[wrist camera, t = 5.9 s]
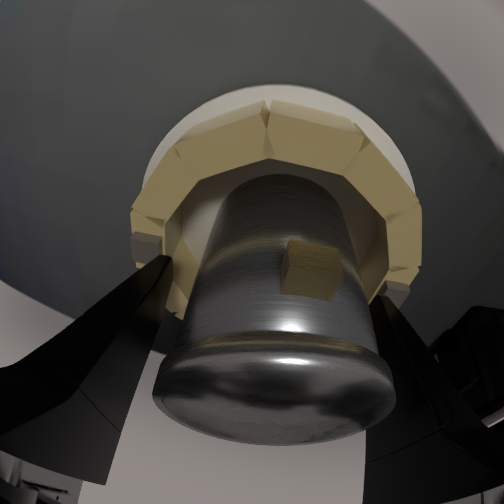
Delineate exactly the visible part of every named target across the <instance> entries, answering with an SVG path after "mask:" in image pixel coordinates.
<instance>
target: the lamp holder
mask: <svg viewBox="0 0 504 504" xmlns="http://www.w3.org/2000/svg"><path fill="white" fill-rule="evenodd" d="M269 174H290V175H296V176H300V177H303V178H306V179H309V180H311V181H313V182H315V183H317V184H319V185H320V186H322V187H323V188H324V189H326V190H327V191H328V192H329V193H330V194H331V195H332V196H333V197H334V198H335V200H336V201H337V203H338V204H339V206H340V208H341V210H342V212H343V215H344V219H345V222H346V225H347V228H348V231H349V235H350V238H351V241H352V245H353V248H354V252H355V255H356V259H357V262H358V266H359V270H360V273H361V277H362V281H363V285H364V289H365V293H366V297H367V301H368V305H369V304H370V303H371V301H372V299H373V298H374V296H375V295H377V294H380V295H386V296H388V297H389V298H390V299H391V301H392V302H393V303H394V304H395V306H396V307H397V308H398V309H399V307H400V306H401V305H402V303H403V302H404V301H405V299H406V298H407V296H408V295H409V294H410V289H409V285H410V284H411V282H412V281H413V279H414V278H415V276H416V275H417V273H418V272H419V269H418V267H417V266H421V251H422V209H421V206H420V204H419V203H418V202H419V200H418V198H417V197H416V195H415V189H414V184H413V181H412V178H411V174H410V171H409V169H408V166H407V164H406V162H405V160H404V158H403V156H402V154H401V153H400V151H399V150H398V148H397V147H396V145H395V144H394V143H393V141H392V140H391V138H390V137H389V136H388V135H387V134H386V133H385V132H384V131H383V130H382V129H381V128H380V127H379V126H378V125H377V124H376V123H375V122H374V121H373V120H372V119H371V118H370V117H369V116H367V115H366V114H365V113H364V112H362V111H361V110H359V109H358V108H357V107H355V106H354V105H352V104H351V103H349V102H347V101H346V100H344V99H342V98H340V97H338V96H336V95H334V94H332V93H329V92H326V91H323V90H320V89H317V88H314V87H309V86H304V85H298V84H292V83H264V84H256V85H249V86H245V87H241V88H238V89H234V90H231V91H228V92H226V93H223V94H221V95H219V96H217V97H215V98H212V99H210V100H209V101H207V102H206V103H204V104H203V105H201V106H200V107H198V108H197V109H195V110H194V111H192V112H191V113H190V114H188V115H187V116H186V117H185V118H183V119H182V120H181V121H180V122H179V123H178V124H177V125H176V126H175V127H174V128H173V129H172V130H171V131H169V133H168V134H167V135H166V137H165V138H164V139H163V140H162V142H161V143H160V144H159V146H158V147H157V149H156V151H155V153H154V155H153V156H152V158H151V160H150V162H149V165H148V168H147V170H146V173H145V176H144V180H143V186H142V191H141V192H140V194H139V196H138V197H137V199H136V201H135V202H134V204H133V206H132V208H133V210H132V212H131V213H130V216H131V226H132V236H131V237H130V244H131V252H132V259H133V261H135V262H136V267H138V268H140V269H141V268H142V267H143V266H145V265H146V264H147V263H149V262H150V261H151V260H153V259H154V258H155V257H157V256H158V255H160V254H163V255H168V256H171V257H172V258H173V281H172V285H171V289H170V292H169V296H168V299H167V303H166V308H167V309H168V310H169V312H170V313H171V312H176V313H175V316H176V317H177V318H179V319H181V320H183V317H184V314H185V310H186V307H187V304H188V301H189V297H190V294H191V291H192V288H193V285H194V281H195V278H196V275H197V272H198V269H199V266H200V263H201V260H202V257H203V254H204V251H205V248H206V244H207V242H208V239H209V236H210V233H211V230H212V227H213V224H214V221H215V218H216V215H217V212H218V210H219V207H220V206H221V204H222V202H223V201H224V199H225V198H226V197H227V195H228V194H230V193H231V192H232V191H233V190H234V189H235V188H236V187H238V186H239V185H241V184H242V183H244V182H246V181H248V180H251V179H253V178H256V177H259V176H264V175H269Z"/></svg>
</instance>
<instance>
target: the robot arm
mask: <svg viewBox="0 0 504 504" xmlns="http://www.w3.org/2000/svg"><path fill="white" fill-rule="evenodd" d="M172 281H173V258H172V257H171V256H168V255H163V254H160V255H158V256H157V257H155V258H154V259H153V260H151V261H150V262H149V263H147V264H146V265H145V266H143V267H142V268H141V269H139V270H138V271H137V272H135V273H134V274H133V275H131V276H130V277H129V278H128V279H126V280H125V281H124V282H122V283H121V284H120V285H119V286H117V287H116V288H115V289H113V290H112V291H111V292H110V293H108V294H107V295H106V296H105V297H103V298H102V299H101V300H100V301H98V302H97V303H96V304H95V305H93V306H92V307H91V308H90V309H88V310H87V311H86V312H85V313H84V314H83V316H82V315H81V316H80V317H79V318H77V319H76V320H75V321H74V322H73V323H71V324H70V325H69V326H67V327H66V328H65V329H64V330H62V331H61V332H60V333H58V334H57V335H56V336H54V337H53V338H51V339H50V340H49V341H47V342H46V343H44V344H43V345H41V346H40V347H38V348H37V349H36V350H34V351H33V352H31V353H30V354H28V355H27V356H26V357H24V358H23V359H21V360H20V361H18V362H16V363H15V364H12V365H10V366H7V367H2V368H0V504H77V503H78V499H79V495H80V491H81V486H82V483H83V480H84V481H88V482H92V483H96V484H100V485H105V484H106V481H107V478H108V474H109V471H110V468H111V464H112V461H113V458H114V454H115V451H116V448H117V445H118V442H119V438H120V435H121V433H120V432H121V431H122V429H123V426H124V423H125V420H126V417H127V414H128V411H129V408H130V405H131V402H132V399H133V396H134V393H135V391H136V388H137V385H138V382H139V380H140V377H141V374H142V371H143V369H144V366H145V363H146V361H147V358H148V355H149V353H150V350H151V348H152V345H153V342H154V340H155V337H156V335H157V332H158V330H159V327H160V324H161V321H162V318H163V314H164V310H165V307H166V303H167V299H168V296H169V292H170V289H171V285H172ZM369 310H370V314H371V318H372V323H373V327H374V332H375V337H376V342H377V347H378V352H379V356H380V357H382V358H383V359H384V360H385V361H386V363H387V364H388V365H389V367H390V369H391V372H392V377H393V383H394V389H395V395H396V404H395V406H394V408H393V410H392V411H391V413H390V414H389V415H388V416H387V417H386V418H384V419H383V420H382V421H380V422H379V423H377V424H375V425H374V426H372V427H370V428H368V429H366V455H365V463H366V464H365V476H364V492H363V503H362V504H504V420H502V421H500V422H498V423H497V424H495V425H493V426H491V427H489V428H488V427H487V426H488V425H490V424H492V423H493V422H495V421H497V420H499V419H501V418H502V417H504V310H502V309H495V308H489V307H483V306H477V307H475V308H474V309H472V310H471V311H470V313H469V314H468V315H467V316H466V317H465V318H464V319H463V321H462V322H461V323H460V324H459V325H458V326H457V327H456V328H455V329H454V330H453V331H452V332H451V333H450V335H449V336H448V337H447V338H446V339H445V340H444V341H443V342H442V343H441V344H440V345H439V346H438V347H437V348H436V349H435V350H434V351H433V352H432V353H431V352H430V350H429V349H428V348H427V346H426V345H425V343H424V342H423V341H422V339H421V338H420V337H419V335H418V334H417V333H416V331H415V330H414V329H413V327H412V326H411V325H410V324H409V322H408V321H407V320H406V318H405V317H404V316H403V315H402V313H401V312H400V311H399V309H398V308H397V307H396V306H395V304H394V303H393V302H392V301H391V299H390V298H389V297H388V296H386V295H380V294H377V295H375V296H374V298H373V299H372V301H371V303H370V304H369Z"/></svg>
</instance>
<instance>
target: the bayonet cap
mask: <svg viewBox="0 0 504 504" xmlns="http://www.w3.org/2000/svg"><path fill="white" fill-rule="evenodd" d="M152 395H153V400H154V402H155V404H156V405H157V406H158V408H159V409H160V410H161V411H162V412H163V413H165V414H166V415H167V416H168V417H170V418H171V419H173V420H175V421H176V422H178V423H180V424H182V425H184V426H186V427H188V428H190V429H193V430H195V431H197V432H201V433H203V434H206V435H209V436H213V437H216V438H220V439H224V440H229V441H235V442H240V443H248V444H256V445H271V446H288V445H289V446H291V445H306V444H314V443H321V442H327V441H332V440H336V439H340V438H343V437H347V436H350V435H353V434H356V433H359V432H361V431H364V430H366V429H368V428H370V427H372V426H374V425H375V424H377V423H379V422H380V421H382V420H383V419H384V418H386V417H387V416H388V415H389V414H390V413H391V411H392V410H393V408H394V406H395V404H396V395H395V389H394V383H393V377H392V372H391V369H390V367H389V365H388V364H387V363H386V361H385V360H384V359H383V358H382V357H380V356H379V352H378V347H377V342H376V337H375V332H374V327H373V323H372V318H371V314H370V310H369V305H368V301H367V297H366V293H365V289H364V285H363V281H362V277H361V273H360V270H359V266H358V262H357V259H356V255H355V252H354V248H353V245H352V241H351V238H350V235H349V231H348V228H347V225H346V222H345V219H344V215H343V212H342V210H341V208H340V206H339V204H338V203H337V201H336V200H335V198H334V197H333V196H332V195H331V194H330V193H329V192H328V191H327V190H326V189H324V188H323V187H322V186H320V185H319V184H317V183H315V182H313V181H311V180H309V179H306V178H303V177H300V176H296V175H290V174H269V175H264V176H259V177H256V178H253V179H251V180H248V181H246V182H244V183H242V184H241V185H239V186H238V187H236V188H235V189H234V190H233V191H232V192H231V193H230V194H228V195H227V197H226V198H225V199H224V201H223V202H222V204H221V206H220V207H219V210H218V212H217V215H216V218H215V221H214V224H213V227H212V230H211V233H210V236H209V239H208V242H207V244H206V248H205V251H204V254H203V257H202V260H201V263H200V266H199V269H198V272H197V275H196V278H195V281H194V285H193V288H192V291H191V294H190V297H189V301H188V304H187V307H186V310H185V314H184V317H183V320H182V324H181V327H180V331H179V334H178V337H177V341H176V344H175V348H174V350H173V351H172V352H170V353H169V354H168V355H167V356H166V357H165V358H164V359H163V361H162V363H161V364H160V367H159V370H158V374H157V377H156V381H155V384H154V388H153V392H152Z"/></svg>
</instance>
